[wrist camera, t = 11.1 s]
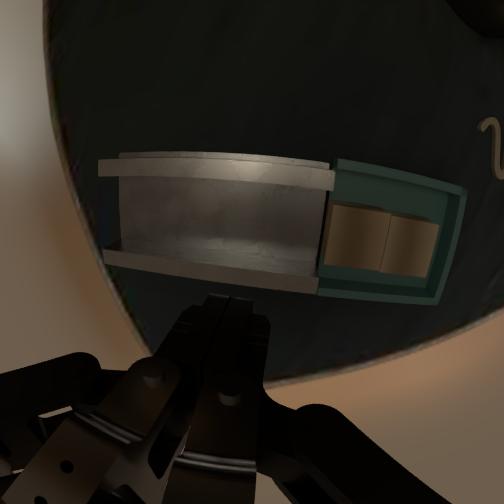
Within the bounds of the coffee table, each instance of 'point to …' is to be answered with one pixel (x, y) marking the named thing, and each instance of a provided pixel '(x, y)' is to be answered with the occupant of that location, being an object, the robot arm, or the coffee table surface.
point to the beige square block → (354, 235)
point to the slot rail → (220, 217)
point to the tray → (400, 200)
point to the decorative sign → (494, 146)
